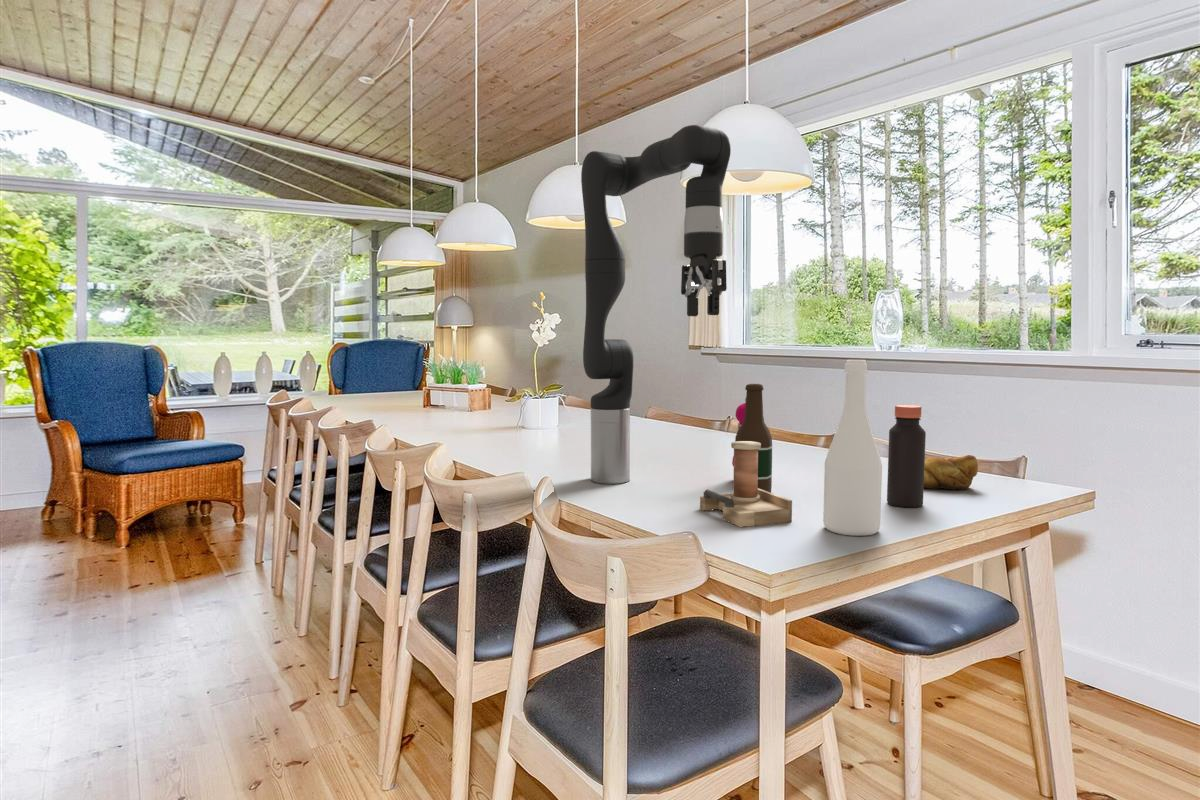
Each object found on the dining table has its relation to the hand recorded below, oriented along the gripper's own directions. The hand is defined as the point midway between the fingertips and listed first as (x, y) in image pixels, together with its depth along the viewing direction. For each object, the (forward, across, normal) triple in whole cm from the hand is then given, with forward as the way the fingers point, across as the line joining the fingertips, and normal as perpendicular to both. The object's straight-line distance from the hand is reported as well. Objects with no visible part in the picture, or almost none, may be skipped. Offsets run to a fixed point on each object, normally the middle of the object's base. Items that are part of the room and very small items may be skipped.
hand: (702, 315), depth 145 cm
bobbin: (+36, -8, -5) cm, 37 cm away
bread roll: (+38, -4, -59) cm, 71 cm away
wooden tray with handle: (+38, -10, -4) cm, 40 cm away
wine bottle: (+38, -26, -16) cm, 49 cm away
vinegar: (+38, -14, -39) cm, 56 cm away
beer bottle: (+38, +3, -14) cm, 41 cm away
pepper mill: (+38, +18, -22) cm, 48 cm away
